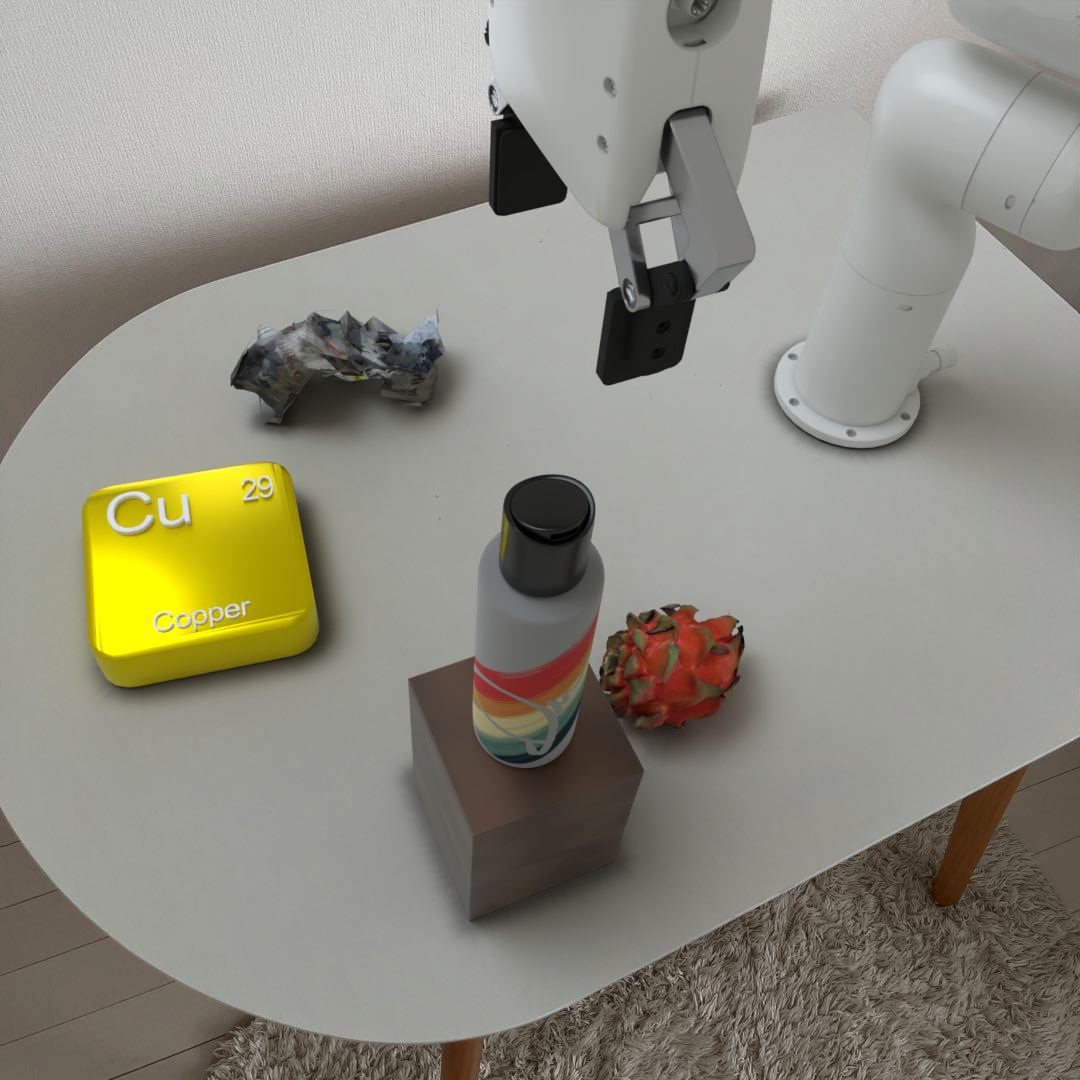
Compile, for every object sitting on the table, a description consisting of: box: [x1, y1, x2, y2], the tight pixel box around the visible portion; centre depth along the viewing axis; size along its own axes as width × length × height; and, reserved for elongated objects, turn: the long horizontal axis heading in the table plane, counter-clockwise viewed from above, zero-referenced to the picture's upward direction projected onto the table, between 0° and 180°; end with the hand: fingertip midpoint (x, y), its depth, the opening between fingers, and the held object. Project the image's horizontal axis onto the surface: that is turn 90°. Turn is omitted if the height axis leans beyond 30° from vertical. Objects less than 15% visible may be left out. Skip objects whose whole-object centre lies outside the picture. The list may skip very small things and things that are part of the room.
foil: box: [229, 309, 447, 425], centre depth 92 cm, size 12×11×15 cm
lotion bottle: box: [473, 473, 606, 768], centre depth 53 cm, size 6×6×20 cm
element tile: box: [81, 461, 320, 688], centre depth 80 cm, size 15×15×5 cm
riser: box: [407, 655, 645, 922], centre depth 67 cm, size 10×10×14 cm
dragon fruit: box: [598, 603, 746, 732], centre depth 76 cm, size 8×8×12 cm
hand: (579, 283), depth 42 cm, fingers open, 9 cm apart
